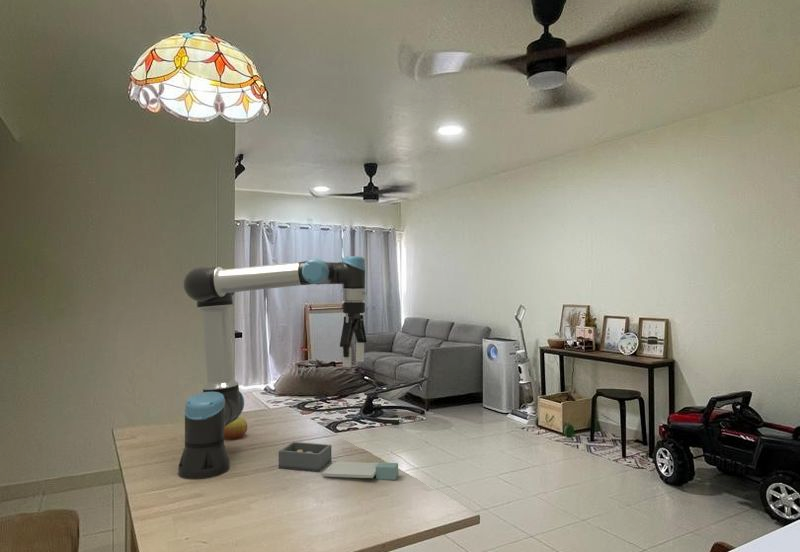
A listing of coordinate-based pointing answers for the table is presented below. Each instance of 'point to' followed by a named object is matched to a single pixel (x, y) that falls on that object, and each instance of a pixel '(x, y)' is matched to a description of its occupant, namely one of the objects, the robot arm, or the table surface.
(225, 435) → the apple
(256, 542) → the table surface
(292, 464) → the tub
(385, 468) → the lid
